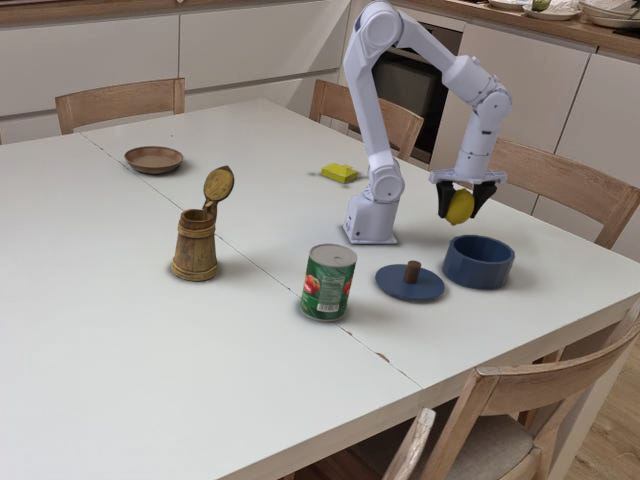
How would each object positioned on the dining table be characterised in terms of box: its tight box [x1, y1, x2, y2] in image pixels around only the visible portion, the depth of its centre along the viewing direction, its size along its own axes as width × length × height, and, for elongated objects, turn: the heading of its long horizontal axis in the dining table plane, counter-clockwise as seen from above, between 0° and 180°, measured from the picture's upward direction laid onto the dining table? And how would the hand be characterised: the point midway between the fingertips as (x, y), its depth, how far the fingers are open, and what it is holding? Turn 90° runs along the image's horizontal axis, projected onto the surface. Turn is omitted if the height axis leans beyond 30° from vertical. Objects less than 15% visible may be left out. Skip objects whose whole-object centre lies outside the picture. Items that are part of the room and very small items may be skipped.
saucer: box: [123, 145, 184, 175], centre depth 169 cm, size 15×15×3 cm
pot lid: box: [374, 259, 446, 302], centre depth 124 cm, size 12×12×5 cm
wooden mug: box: [170, 164, 236, 282], centre depth 125 cm, size 9×14×18 cm, turn 141°
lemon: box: [445, 187, 474, 227], centre depth 134 cm, size 6×6×8 cm
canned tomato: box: [299, 243, 358, 323], centre depth 115 cm, size 8×8×11 cm
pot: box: [441, 234, 516, 291], centre depth 127 cm, size 11×11×6 cm
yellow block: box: [312, 162, 360, 188], centre depth 166 cm, size 10×9×3 cm
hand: (455, 216), depth 136 cm, fingers closed on lemon, 5 cm apart
